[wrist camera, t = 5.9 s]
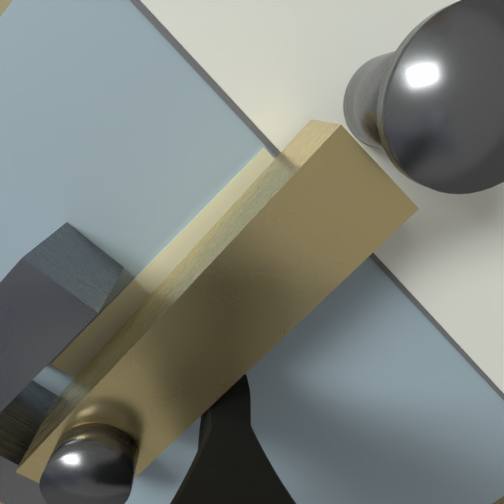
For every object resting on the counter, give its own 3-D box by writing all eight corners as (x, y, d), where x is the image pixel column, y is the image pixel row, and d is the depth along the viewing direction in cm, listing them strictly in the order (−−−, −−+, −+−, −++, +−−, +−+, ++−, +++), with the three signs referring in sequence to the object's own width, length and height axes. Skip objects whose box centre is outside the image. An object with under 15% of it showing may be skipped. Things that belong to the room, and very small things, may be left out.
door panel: (304, 608, 18) (309, 636, 17) (-215, 327, 11) (-256, 349, 10) (692, 348, 14) (727, 366, 13) (286, -341, 7) (297, -409, 6)
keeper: (102, 462, 13) (78, 539, 10) (-64, 366, 11) (-136, 435, 9) (228, 349, 11) (232, 409, 9) (66, 221, 10) (22, 257, 7)
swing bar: (311, 119, 9) (357, 127, 6) (373, 185, 9) (442, 220, 6) (53, 400, 11) (-4, 506, 8) (120, 438, 11) (88, 547, 8)
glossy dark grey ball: (360, 179, 11) (451, 228, 6) (292, 101, 10) (349, 99, 6) (443, 103, 10) (600, 103, 6) (379, 12, 9) (512, -61, 5)
